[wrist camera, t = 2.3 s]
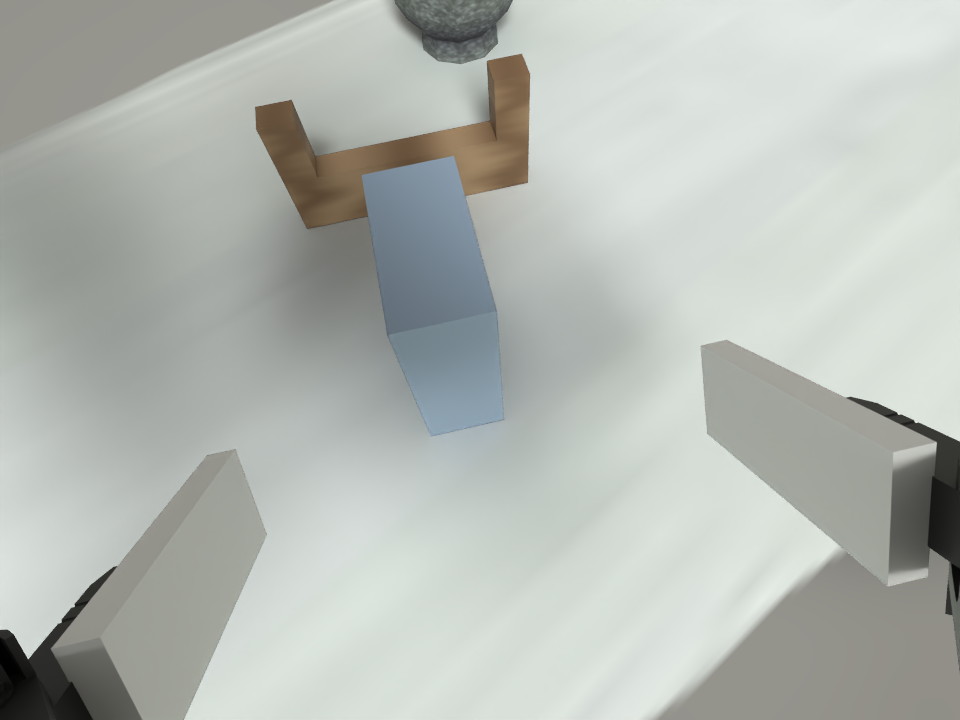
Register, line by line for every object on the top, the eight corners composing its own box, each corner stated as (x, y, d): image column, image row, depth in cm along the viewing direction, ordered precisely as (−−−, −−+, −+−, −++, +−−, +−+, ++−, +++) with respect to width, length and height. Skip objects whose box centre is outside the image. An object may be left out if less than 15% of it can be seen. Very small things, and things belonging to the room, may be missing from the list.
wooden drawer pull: (307, 228, 37) (256, 129, 29) (305, 208, 37) (255, 107, 30) (527, 182, 37) (530, 74, 30) (521, 163, 38) (521, 53, 31)
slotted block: (431, 436, 30) (387, 335, 20) (407, 312, 33) (361, 174, 23) (504, 419, 30) (496, 311, 20) (473, 298, 33) (453, 155, 24)
